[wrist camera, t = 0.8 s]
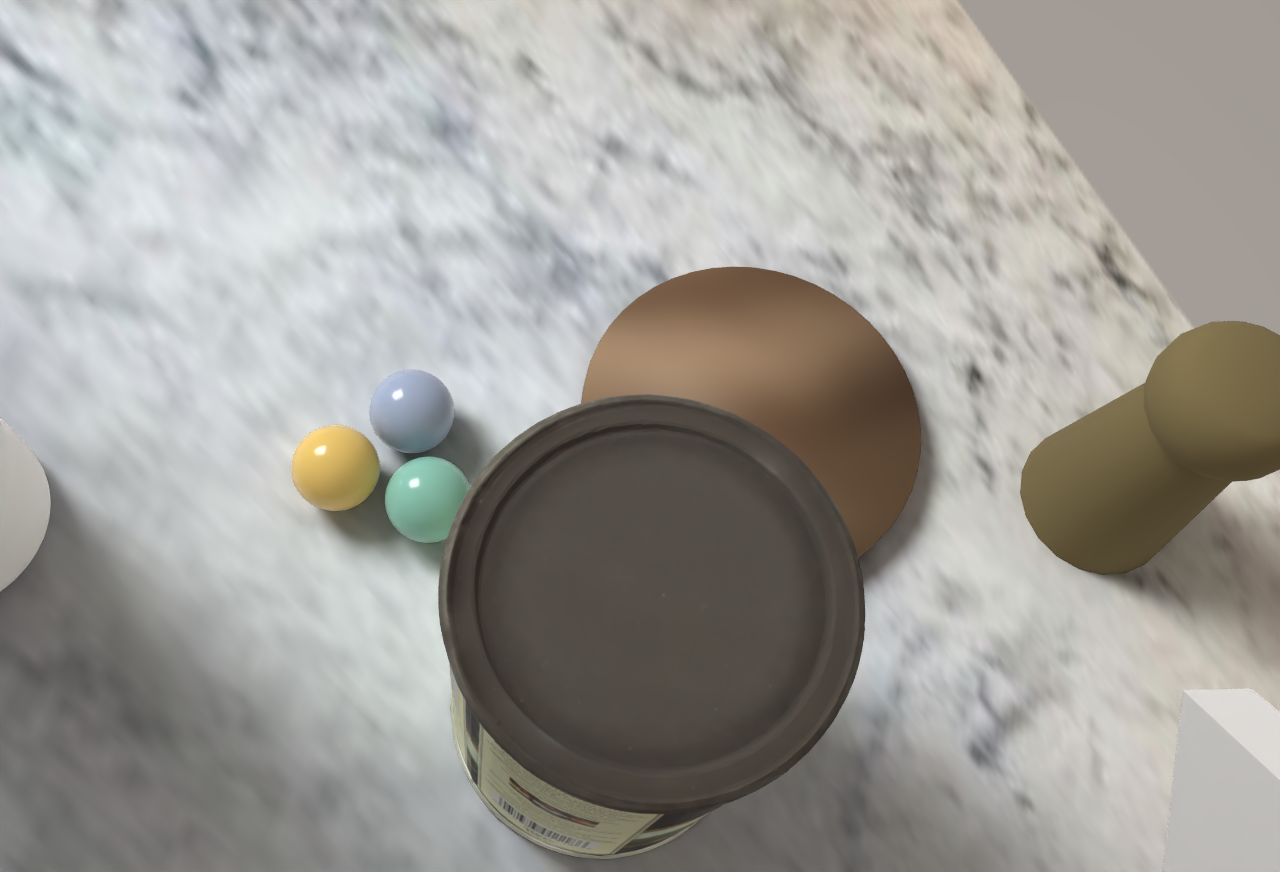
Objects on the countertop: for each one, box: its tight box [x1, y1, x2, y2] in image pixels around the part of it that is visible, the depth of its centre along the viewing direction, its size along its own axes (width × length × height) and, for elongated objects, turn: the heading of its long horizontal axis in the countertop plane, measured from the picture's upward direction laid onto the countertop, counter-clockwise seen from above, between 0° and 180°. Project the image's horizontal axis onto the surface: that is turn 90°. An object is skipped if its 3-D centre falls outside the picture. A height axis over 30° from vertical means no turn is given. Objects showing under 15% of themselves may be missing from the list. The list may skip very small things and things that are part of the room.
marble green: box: [385, 457, 470, 543], centre depth 42 cm, size 3×3×3 cm
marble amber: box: [291, 425, 380, 511], centre depth 42 cm, size 3×3×3 cm
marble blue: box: [369, 370, 454, 453], centre depth 43 cm, size 3×3×3 cm
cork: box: [1020, 321, 1280, 574], centre depth 42 cm, size 6×6×11 cm
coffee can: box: [438, 394, 865, 859], centre depth 35 cm, size 10×10×14 cm
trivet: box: [581, 267, 921, 558], centre depth 46 cm, size 13×13×1 cm
